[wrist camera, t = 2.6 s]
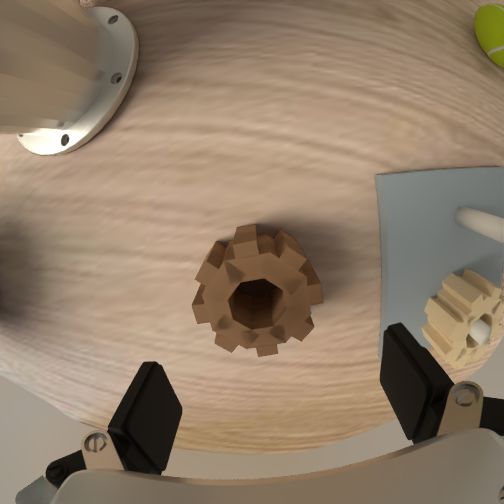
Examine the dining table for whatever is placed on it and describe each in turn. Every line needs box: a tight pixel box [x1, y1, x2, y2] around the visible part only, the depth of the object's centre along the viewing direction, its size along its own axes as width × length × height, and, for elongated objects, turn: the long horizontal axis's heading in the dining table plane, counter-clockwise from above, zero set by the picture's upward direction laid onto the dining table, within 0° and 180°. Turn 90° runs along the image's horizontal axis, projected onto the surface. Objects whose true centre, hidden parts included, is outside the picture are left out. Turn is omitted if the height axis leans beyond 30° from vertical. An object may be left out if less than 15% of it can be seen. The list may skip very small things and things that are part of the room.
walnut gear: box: [192, 224, 323, 357], centre depth 17 cm, size 7×7×4 cm
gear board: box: [375, 166, 504, 369], centre depth 15 cm, size 15×14×6 cm
